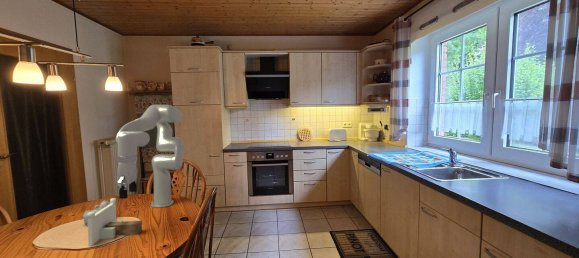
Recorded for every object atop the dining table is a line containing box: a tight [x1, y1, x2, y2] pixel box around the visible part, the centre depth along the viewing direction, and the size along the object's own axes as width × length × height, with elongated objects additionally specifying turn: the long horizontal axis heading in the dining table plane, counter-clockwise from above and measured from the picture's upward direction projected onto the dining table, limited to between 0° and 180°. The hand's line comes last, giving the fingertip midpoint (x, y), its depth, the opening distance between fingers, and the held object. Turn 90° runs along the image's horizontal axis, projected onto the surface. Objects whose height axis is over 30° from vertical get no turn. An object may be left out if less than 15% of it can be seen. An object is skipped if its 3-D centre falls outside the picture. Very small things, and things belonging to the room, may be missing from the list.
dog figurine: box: [82, 200, 110, 227], centre depth 130 cm, size 5×13×11 cm, turn 147°
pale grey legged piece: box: [87, 197, 124, 247], centre depth 117 cm, size 20×7×14 cm, turn 10°
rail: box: [105, 220, 143, 237], centre depth 119 cm, size 14×4×5 cm, turn 100°
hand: (128, 194), depth 119 cm, fingers open, 9 cm apart
